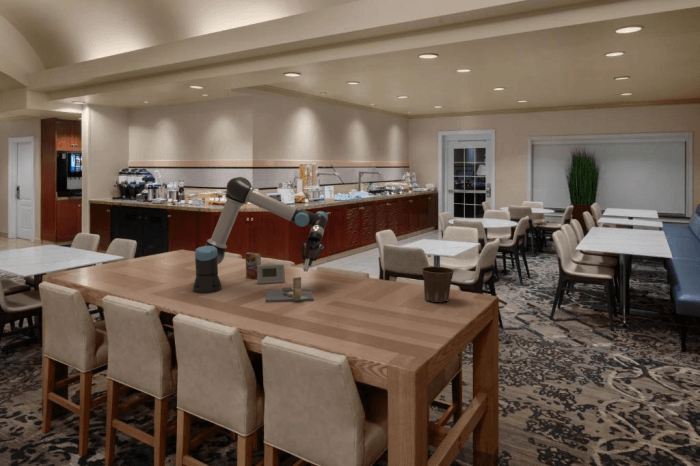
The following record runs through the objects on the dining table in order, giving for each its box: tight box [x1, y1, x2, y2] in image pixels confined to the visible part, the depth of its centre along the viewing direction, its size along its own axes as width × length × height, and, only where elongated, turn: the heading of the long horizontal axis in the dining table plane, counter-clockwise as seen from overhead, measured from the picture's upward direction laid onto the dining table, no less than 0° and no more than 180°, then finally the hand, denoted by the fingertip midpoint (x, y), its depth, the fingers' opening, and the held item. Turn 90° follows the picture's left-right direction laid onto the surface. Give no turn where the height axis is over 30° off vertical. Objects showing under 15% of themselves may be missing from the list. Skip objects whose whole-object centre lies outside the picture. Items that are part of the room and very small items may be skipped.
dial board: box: [265, 288, 314, 303], centre depth 258 cm, size 24×23×3 cm
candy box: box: [245, 252, 262, 280], centre depth 300 cm, size 9×4×15 cm, turn 61°
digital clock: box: [256, 263, 286, 285], centre depth 289 cm, size 16×9×11 cm, turn 95°
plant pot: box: [421, 266, 455, 303], centre depth 253 cm, size 16×16×16 cm
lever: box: [281, 276, 302, 299], centre depth 254 cm, size 15×5×11 cm, turn 35°
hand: (305, 270), depth 264 cm, fingers closed
